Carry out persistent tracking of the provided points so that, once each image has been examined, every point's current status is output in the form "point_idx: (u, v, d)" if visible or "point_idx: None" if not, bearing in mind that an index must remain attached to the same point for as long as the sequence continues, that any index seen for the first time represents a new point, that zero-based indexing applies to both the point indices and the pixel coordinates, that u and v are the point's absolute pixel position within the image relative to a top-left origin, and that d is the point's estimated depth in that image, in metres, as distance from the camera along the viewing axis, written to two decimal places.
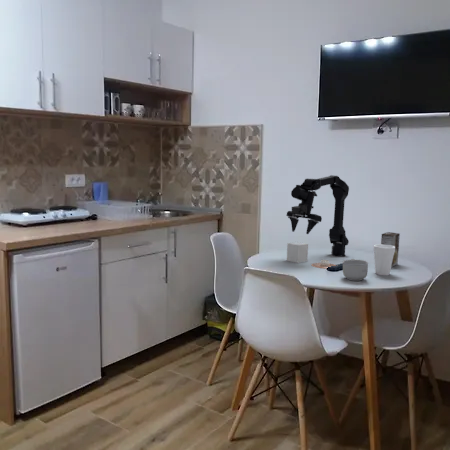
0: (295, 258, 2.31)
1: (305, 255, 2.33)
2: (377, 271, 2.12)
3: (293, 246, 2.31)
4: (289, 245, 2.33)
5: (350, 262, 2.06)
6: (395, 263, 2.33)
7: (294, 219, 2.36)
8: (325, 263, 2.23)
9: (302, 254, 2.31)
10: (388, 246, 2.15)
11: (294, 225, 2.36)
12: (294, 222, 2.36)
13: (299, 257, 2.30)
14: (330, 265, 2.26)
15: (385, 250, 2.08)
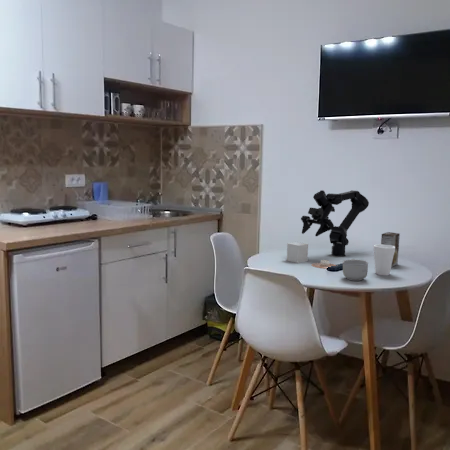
0: (295, 258, 2.31)
1: (305, 255, 2.33)
2: (377, 271, 2.12)
3: (293, 246, 2.31)
4: (289, 245, 2.33)
5: (350, 262, 2.06)
6: (395, 263, 2.33)
7: (307, 223, 2.44)
8: (325, 263, 2.23)
9: (302, 254, 2.31)
10: (388, 246, 2.15)
11: (305, 228, 2.43)
12: (306, 226, 2.43)
13: (299, 257, 2.30)
14: (330, 265, 2.26)
15: (385, 250, 2.08)
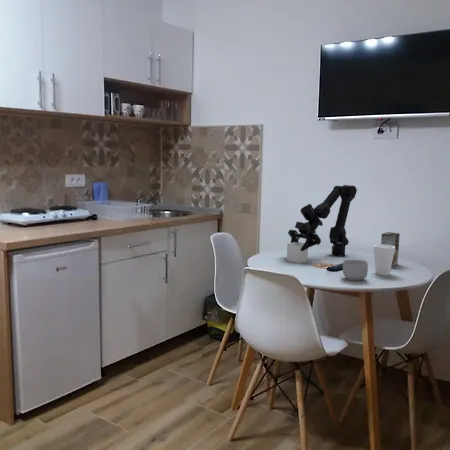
0: (295, 258, 2.31)
1: (305, 255, 2.33)
2: (377, 271, 2.12)
3: (293, 246, 2.31)
4: (289, 245, 2.33)
5: (350, 262, 2.06)
6: (395, 263, 2.33)
7: (295, 238, 2.38)
8: (325, 263, 2.23)
9: (302, 254, 2.31)
10: (388, 246, 2.15)
11: None
12: (294, 240, 2.38)
13: (299, 257, 2.30)
14: (330, 265, 2.26)
15: (385, 250, 2.08)
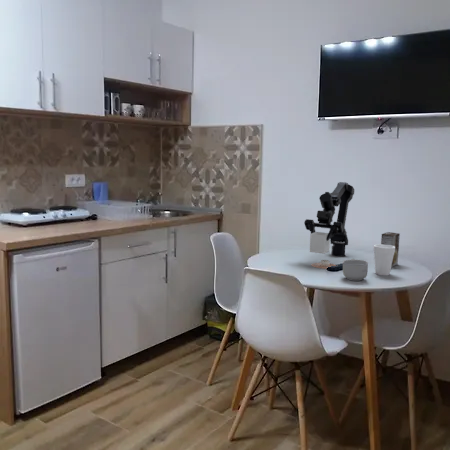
0: (321, 248, 2.21)
1: (328, 245, 2.25)
2: (377, 271, 2.12)
3: (318, 236, 2.21)
4: (313, 235, 2.23)
5: (350, 262, 2.06)
6: (395, 263, 2.33)
7: (313, 227, 2.29)
8: (325, 263, 2.23)
9: (327, 244, 2.23)
10: (388, 246, 2.15)
11: None
12: (313, 230, 2.28)
13: (325, 247, 2.22)
14: (330, 265, 2.26)
15: (385, 250, 2.08)
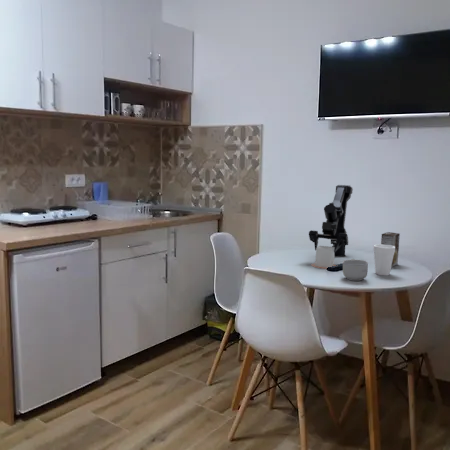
0: (327, 263, 2.21)
1: (333, 258, 2.25)
2: (377, 271, 2.12)
3: (325, 250, 2.21)
4: (319, 250, 2.22)
5: (350, 262, 2.06)
6: (395, 263, 2.33)
7: (317, 239, 2.28)
8: None
9: (332, 258, 2.23)
10: (388, 246, 2.15)
11: (316, 244, 2.27)
12: (316, 241, 2.27)
13: (331, 261, 2.21)
14: None
15: (385, 250, 2.08)
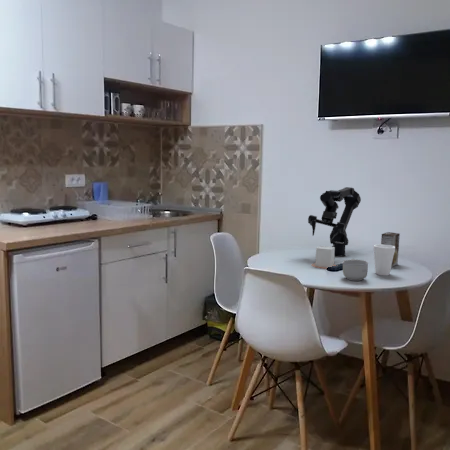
0: (327, 263, 2.21)
1: (333, 258, 2.25)
2: (377, 271, 2.12)
3: (325, 250, 2.21)
4: (319, 250, 2.22)
5: (350, 262, 2.06)
6: (395, 263, 2.33)
7: (315, 224, 2.38)
8: None
9: (332, 258, 2.23)
10: (388, 246, 2.15)
11: (314, 230, 2.38)
12: None
13: (331, 261, 2.21)
14: None
15: (385, 250, 2.08)
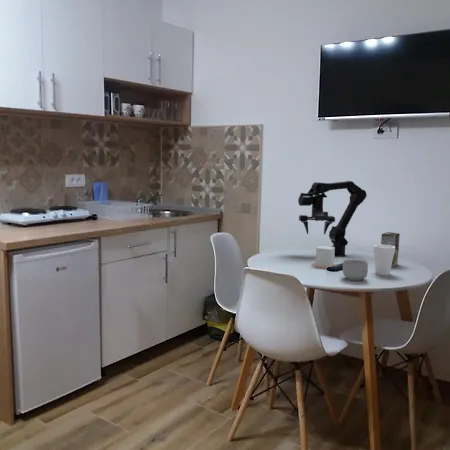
0: (327, 263, 2.21)
1: (333, 258, 2.25)
2: (377, 271, 2.12)
3: (325, 250, 2.21)
4: (319, 250, 2.22)
5: (350, 262, 2.06)
6: (395, 263, 2.33)
7: None
8: None
9: (332, 258, 2.23)
10: (388, 246, 2.15)
11: (307, 228, 2.49)
12: None
13: (331, 261, 2.21)
14: None
15: (385, 250, 2.08)
